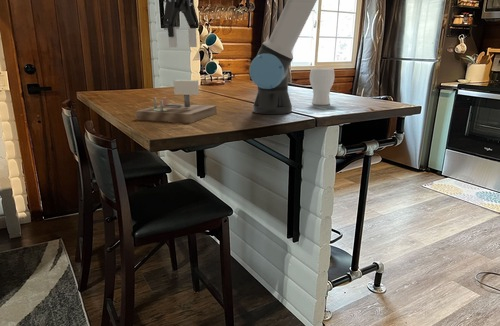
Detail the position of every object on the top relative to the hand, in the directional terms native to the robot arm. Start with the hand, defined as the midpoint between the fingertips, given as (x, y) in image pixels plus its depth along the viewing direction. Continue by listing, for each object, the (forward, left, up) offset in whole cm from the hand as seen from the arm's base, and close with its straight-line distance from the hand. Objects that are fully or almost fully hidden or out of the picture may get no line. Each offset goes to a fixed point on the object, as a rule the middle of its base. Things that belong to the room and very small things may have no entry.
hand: (183, 47), depth 136 cm
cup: (-41, -45, -25) cm, 66 cm away
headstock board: (+3, +2, -24) cm, 25 cm away
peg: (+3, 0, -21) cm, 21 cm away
